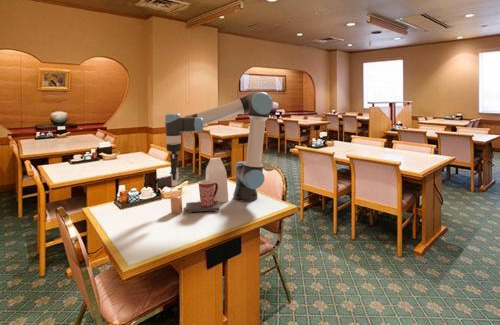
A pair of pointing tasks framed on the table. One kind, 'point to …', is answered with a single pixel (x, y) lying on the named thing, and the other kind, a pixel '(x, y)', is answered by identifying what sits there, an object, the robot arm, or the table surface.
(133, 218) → the table surface
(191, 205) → the board
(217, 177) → the milk
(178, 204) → the brown short cylinder
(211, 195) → the mug
